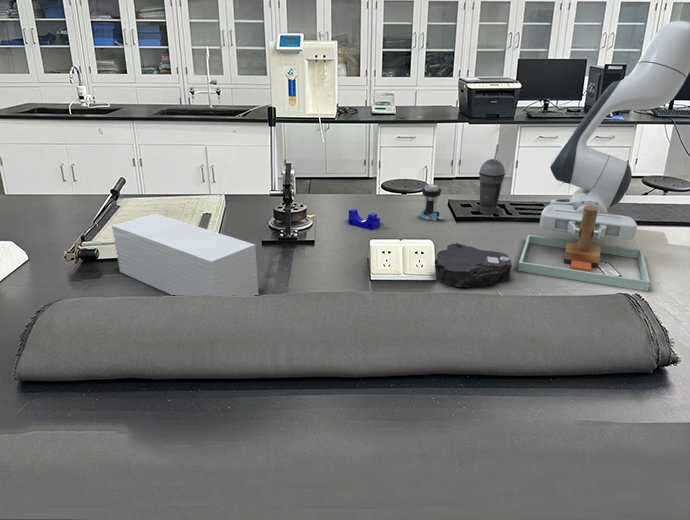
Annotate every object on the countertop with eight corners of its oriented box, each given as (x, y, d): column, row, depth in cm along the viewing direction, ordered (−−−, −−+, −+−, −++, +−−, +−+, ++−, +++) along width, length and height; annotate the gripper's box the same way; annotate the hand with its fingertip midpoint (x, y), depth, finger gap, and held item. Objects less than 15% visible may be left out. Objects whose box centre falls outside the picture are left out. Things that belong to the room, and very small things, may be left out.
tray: (639, 260, 123) (642, 249, 122) (647, 293, 107) (650, 282, 106) (526, 244, 132) (527, 234, 131) (517, 273, 116) (518, 262, 115)
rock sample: (465, 299, 104) (467, 276, 102) (414, 271, 116) (415, 250, 115) (525, 279, 113) (528, 258, 111) (472, 255, 125) (474, 236, 123)
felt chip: (590, 267, 117) (591, 262, 117) (590, 274, 114) (591, 269, 114) (570, 264, 119) (571, 259, 118) (570, 271, 115) (571, 266, 115)
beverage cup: (491, 207, 161) (499, 140, 153) (505, 214, 155) (514, 145, 147) (470, 209, 159) (477, 142, 151) (483, 216, 153) (491, 146, 145)
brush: (597, 257, 121) (609, 205, 115) (597, 268, 117) (609, 214, 111) (565, 253, 123) (574, 201, 117) (563, 263, 119) (573, 210, 113)
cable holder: (379, 226, 144) (380, 212, 143) (372, 230, 142) (372, 215, 140) (356, 220, 149) (356, 207, 147) (348, 224, 146) (348, 210, 145)
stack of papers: (119, 272, 116) (111, 225, 112) (161, 257, 124) (155, 213, 120) (216, 315, 98) (211, 261, 94) (258, 294, 106) (255, 244, 102)
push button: (446, 221, 149) (449, 186, 145) (437, 225, 145) (440, 190, 141) (425, 216, 153) (428, 182, 149) (416, 221, 149) (418, 186, 145)
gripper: (632, 234, 125) (636, 254, 113) (541, 223, 132) (535, 240, 121) (638, 208, 123) (642, 226, 111) (544, 198, 130) (539, 214, 118)
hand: (586, 234), depth 116 cm, fingers closed on brush, 3 cm apart
